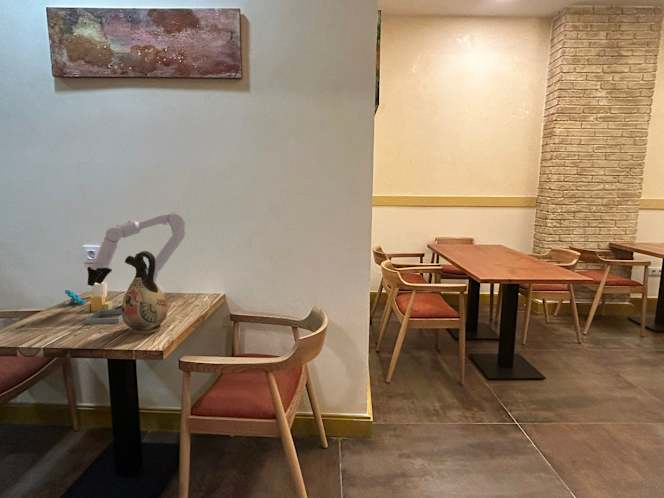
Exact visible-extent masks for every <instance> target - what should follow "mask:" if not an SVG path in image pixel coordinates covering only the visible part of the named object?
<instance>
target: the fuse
mask: <svg viewBox="0 0 664 498" xmlns="http://www.w3.org/2000/svg"><path fill="white" fill-rule="evenodd" d="M89 301H90V302H91V311H99V310H103V304H104V303H106V297H105V295H93V294H92V296H90V300H89Z"/></svg>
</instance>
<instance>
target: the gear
mask: <svg viewBox="0 0 664 498" xmlns="http://www.w3.org/2000/svg"><path fill="white" fill-rule="evenodd" d="M64 292H65V294H66V295H67V297H69V298H71V299H70V300H69V302H68V303H67V304H66V306H70V305H72V304H73V303H75V302H76V303H77V304H80V305H82V306H84V304H86V300H84V299H83V297H80V296H79V294H77V293H76V294H75V292H74V291H71V290H69V289H65V291H64Z"/></svg>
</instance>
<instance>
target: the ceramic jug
mask: <svg viewBox="0 0 664 498" xmlns="http://www.w3.org/2000/svg"><path fill="white" fill-rule="evenodd" d="M144 258H146V259H147V260H148V265H147V263H146V261H145V259H144ZM155 258H156V257H155V256H154V254H153V253H151V252H150V251H148V250H147V251H146V250H143V251H140V252H138V253H136V254H135V256H132V255H128V256H127V257H126V258H125V259H124V263H125V264H127V265H130V266H131V267H133V268H134V269H135V276H134V278H133V280H132V282H131V283H130V285H129V286H128V288H127V290H126V292H125V295H124V297H123V300H122V303H121V309H122V310H121V311H122V314H121V315H122V318H123V320H122V321H123V322H124V324H125V325H127V326H128V327H129V328H130V329H131V330H132V331H133V333H134V334H136V335H137V334H138V335H143V334H144V335H146V334H151V333H156V332H158V331H160V329H162V326H161V325H162V324H163V322H164V321H165V320H166V318H167V315H168V310H169V309H168V303H167V299H166V297H165V295H163V293H162V291H161V290H160V289H159V287H158V286H159V285H158V284H157V285H158V286H157V285H156V283H157V282H155V283H154V281H153V278H154V272H155ZM148 266H149V268H148ZM147 268H148V275H147V272H146V269H147Z"/></svg>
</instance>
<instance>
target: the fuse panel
mask: <svg viewBox="0 0 664 498" xmlns="http://www.w3.org/2000/svg"><path fill="white" fill-rule="evenodd" d="M118 307H119V306H117V305H113V301H105V303H104V304H103V310H116V309H117V308H118ZM83 309H84V310H82V311H81V312H79V313H77V315H93V314H94V313H96V312H97V311H91V301H87V302H85V304H84V305H83Z"/></svg>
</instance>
